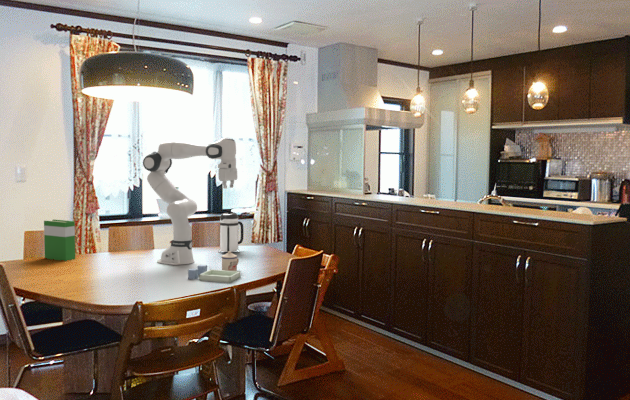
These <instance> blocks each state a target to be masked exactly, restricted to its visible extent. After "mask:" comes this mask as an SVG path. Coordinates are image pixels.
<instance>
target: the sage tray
mask: <svg viewBox="0 0 630 400" xmlns="http://www.w3.org/2000/svg"><path fill="white" fill-rule="evenodd" d="M239 277H240V278H241V271H238V270H237V271H224V270H222V269H207V271H206V272H204V273H202V274H200V275H198V280H199V281H202V282H203V281H205V282H216V283H217V282H218V283H230V284H231V283H232V282H234V281H236V280H238V279H239Z"/></svg>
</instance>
